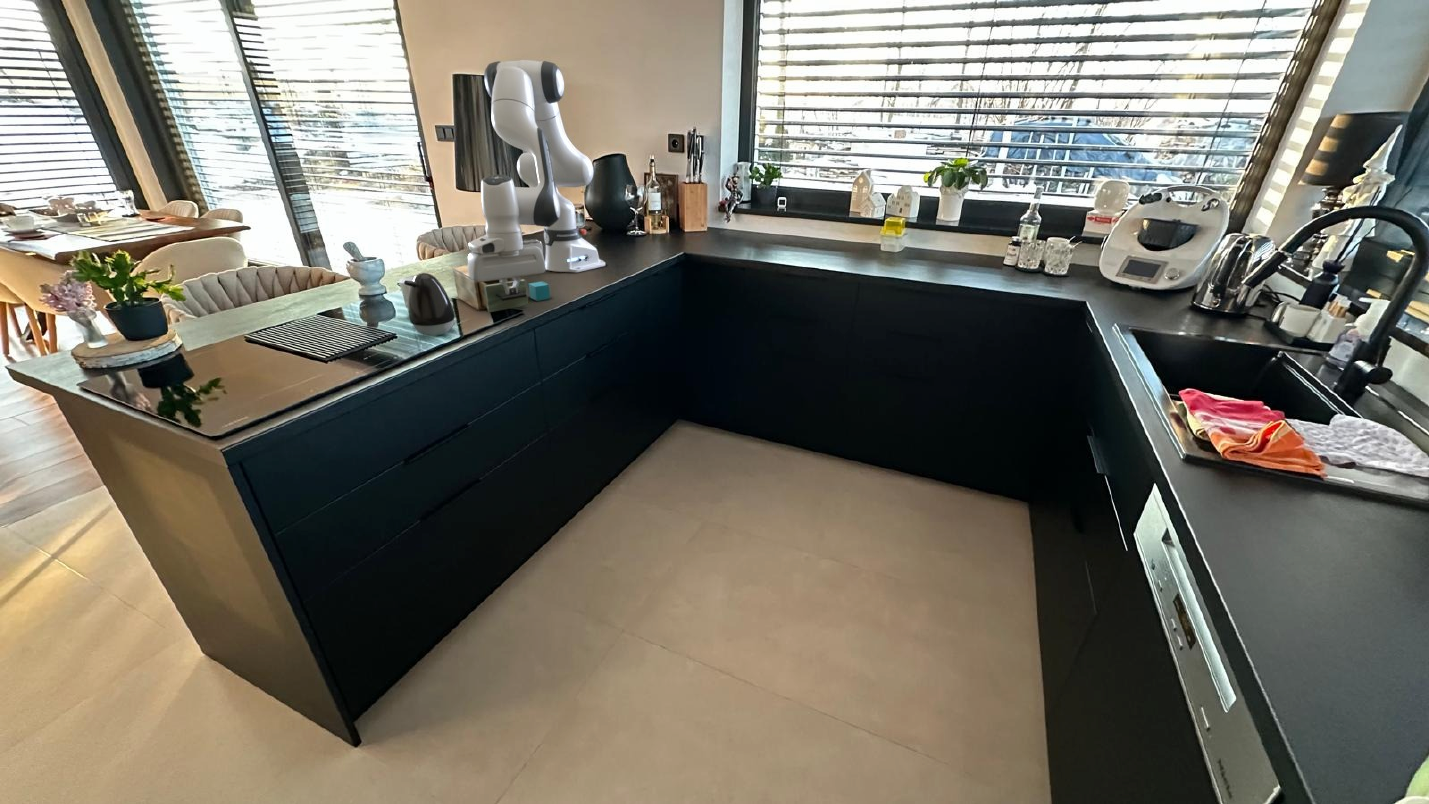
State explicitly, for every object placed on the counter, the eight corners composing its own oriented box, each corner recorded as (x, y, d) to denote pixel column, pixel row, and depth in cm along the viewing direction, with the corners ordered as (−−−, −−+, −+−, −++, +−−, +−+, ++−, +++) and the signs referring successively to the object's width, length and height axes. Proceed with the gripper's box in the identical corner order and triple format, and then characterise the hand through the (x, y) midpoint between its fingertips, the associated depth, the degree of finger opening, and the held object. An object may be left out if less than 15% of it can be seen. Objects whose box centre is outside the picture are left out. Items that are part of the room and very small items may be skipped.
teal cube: (543, 295, 173) (541, 281, 171) (550, 298, 170) (548, 284, 168) (530, 297, 170) (528, 283, 168) (536, 301, 167) (535, 286, 165)
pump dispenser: (403, 334, 139) (389, 274, 132) (439, 323, 147) (427, 265, 140) (430, 342, 135) (418, 280, 128) (466, 330, 143) (455, 271, 136)
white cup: (432, 309, 157) (425, 274, 152) (443, 316, 152) (436, 280, 147) (402, 315, 152) (394, 279, 147) (413, 322, 147) (404, 285, 142)
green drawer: (535, 309, 158) (533, 283, 154) (496, 316, 151) (492, 290, 147) (506, 293, 170) (503, 269, 167) (468, 300, 163) (464, 275, 160)
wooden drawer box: (520, 302, 165) (516, 272, 161) (478, 310, 158) (473, 278, 154) (498, 290, 175) (494, 261, 171) (457, 297, 168) (452, 267, 164)
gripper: (536, 236, 155) (541, 285, 161) (461, 243, 142) (470, 296, 148) (547, 240, 151) (552, 290, 157) (471, 248, 138) (479, 302, 144)
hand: (511, 293), depth 152 cm, fingers closed, pressing on green drawer
